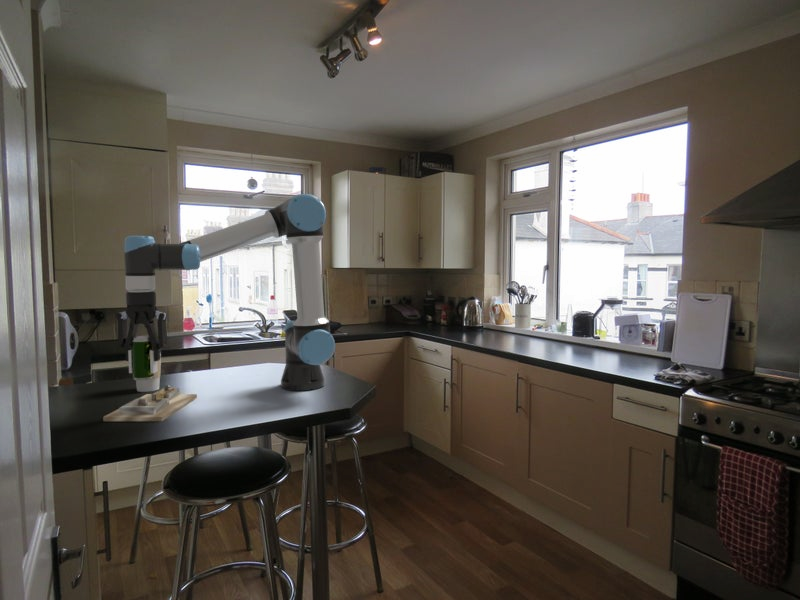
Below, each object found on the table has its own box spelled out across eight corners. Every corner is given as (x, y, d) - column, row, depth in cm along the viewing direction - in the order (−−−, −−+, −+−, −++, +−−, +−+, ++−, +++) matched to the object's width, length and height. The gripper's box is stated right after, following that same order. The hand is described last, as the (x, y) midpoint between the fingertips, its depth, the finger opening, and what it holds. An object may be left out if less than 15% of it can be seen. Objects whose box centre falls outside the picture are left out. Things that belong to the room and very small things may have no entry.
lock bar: (175, 393, 162) (175, 383, 162) (163, 400, 154) (163, 389, 154) (168, 393, 162) (167, 383, 162) (156, 400, 154) (155, 389, 154)
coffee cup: (150, 393, 168) (149, 348, 167) (127, 391, 170) (125, 347, 168) (168, 386, 177) (167, 344, 176) (145, 385, 178) (144, 343, 177)
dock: (196, 397, 162) (196, 388, 162) (162, 421, 138) (161, 409, 138) (146, 397, 162) (146, 388, 162) (103, 421, 138) (102, 409, 138)
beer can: (130, 381, 141) (129, 338, 140) (135, 377, 146) (134, 335, 146) (151, 380, 143) (150, 337, 142) (156, 376, 148) (154, 335, 147)
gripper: (179, 290, 146) (181, 369, 148) (115, 290, 146) (118, 369, 148) (167, 291, 139) (169, 375, 141) (100, 291, 139) (103, 375, 141)
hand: (143, 372), depth 144 cm, fingers closed on beer can, 5 cm apart
